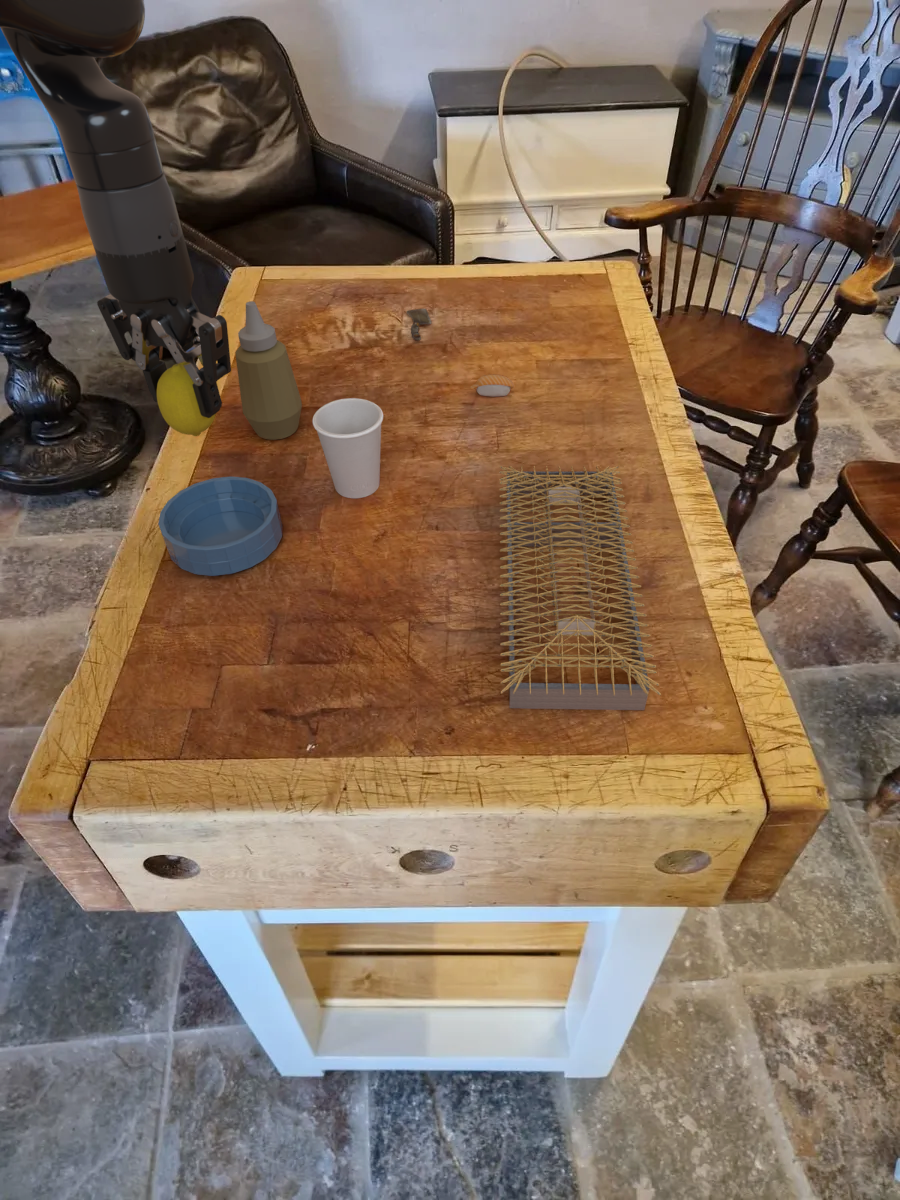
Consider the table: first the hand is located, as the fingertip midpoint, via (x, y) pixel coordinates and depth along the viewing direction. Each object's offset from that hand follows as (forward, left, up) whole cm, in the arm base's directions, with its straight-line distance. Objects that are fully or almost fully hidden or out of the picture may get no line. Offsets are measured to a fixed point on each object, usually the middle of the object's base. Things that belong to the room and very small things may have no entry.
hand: (188, 405), depth 80 cm
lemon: (0, 0, -4) cm, 4 cm away
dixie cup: (+16, -7, -19) cm, 26 cm away
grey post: (+57, +7, -18) cm, 60 cm away
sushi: (+43, -13, -19) cm, 49 cm away
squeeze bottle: (+22, +10, -19) cm, 31 cm away
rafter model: (+11, -38, -19) cm, 44 cm away
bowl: (0, +1, -18) cm, 19 cm away
